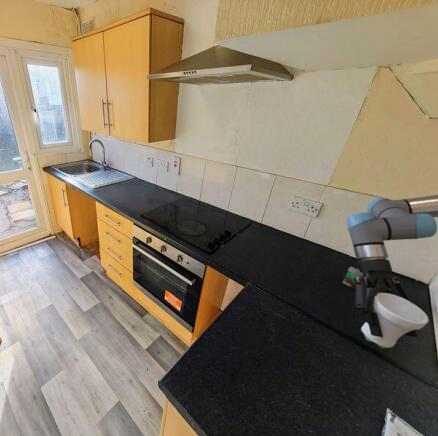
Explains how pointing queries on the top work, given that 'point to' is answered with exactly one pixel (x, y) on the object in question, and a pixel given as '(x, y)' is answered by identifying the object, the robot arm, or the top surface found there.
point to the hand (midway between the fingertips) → (394, 336)
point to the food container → (352, 277)
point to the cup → (394, 319)
